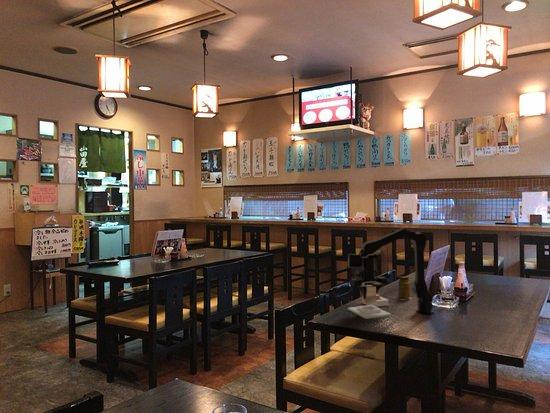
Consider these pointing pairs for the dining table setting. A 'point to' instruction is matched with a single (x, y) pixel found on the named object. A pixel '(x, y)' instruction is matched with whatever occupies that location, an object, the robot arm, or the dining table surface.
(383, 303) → the button housing
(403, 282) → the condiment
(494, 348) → the dining table surface
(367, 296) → the block
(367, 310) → the tray
